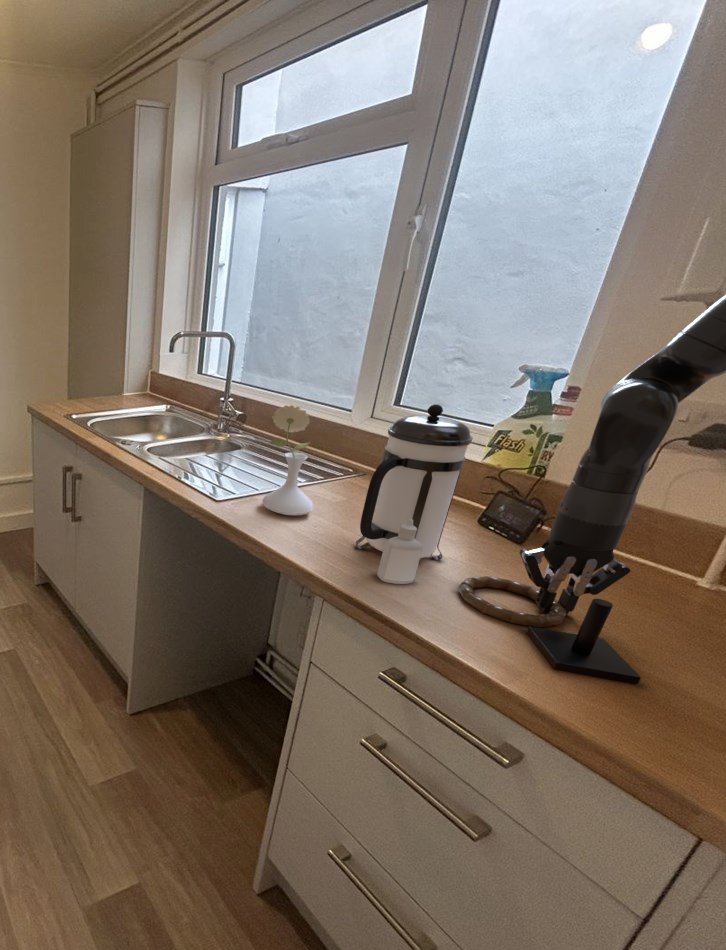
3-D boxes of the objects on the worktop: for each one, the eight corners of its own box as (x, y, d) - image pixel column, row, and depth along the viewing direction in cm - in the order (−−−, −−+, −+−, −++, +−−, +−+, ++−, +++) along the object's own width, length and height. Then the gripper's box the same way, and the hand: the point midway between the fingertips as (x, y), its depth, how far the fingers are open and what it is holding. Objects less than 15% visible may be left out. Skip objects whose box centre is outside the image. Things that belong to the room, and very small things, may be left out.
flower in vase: (321, 512, 125) (342, 407, 116) (296, 524, 119) (316, 415, 109) (271, 496, 135) (287, 399, 125) (245, 507, 129) (260, 405, 119)
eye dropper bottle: (411, 589, 93) (429, 527, 88) (375, 580, 96) (390, 520, 91) (413, 579, 96) (430, 519, 92) (378, 570, 99) (393, 512, 95)
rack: (600, 645, 78) (625, 591, 74) (637, 684, 70) (668, 627, 67) (526, 632, 81) (546, 580, 77) (553, 669, 73) (578, 613, 70)
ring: (539, 591, 92) (543, 582, 91) (580, 636, 80) (584, 626, 79) (447, 578, 96) (450, 569, 96) (473, 618, 84) (476, 609, 84)
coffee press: (347, 531, 115) (378, 394, 104) (434, 544, 109) (478, 400, 97) (350, 565, 101) (386, 411, 89) (450, 584, 94) (504, 419, 83)
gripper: (547, 516, 79) (510, 614, 85) (669, 529, 74) (619, 632, 81) (526, 499, 85) (492, 591, 92) (636, 510, 80) (593, 606, 87)
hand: (552, 610), depth 86 cm, fingers closed on ring, 2 cm apart
